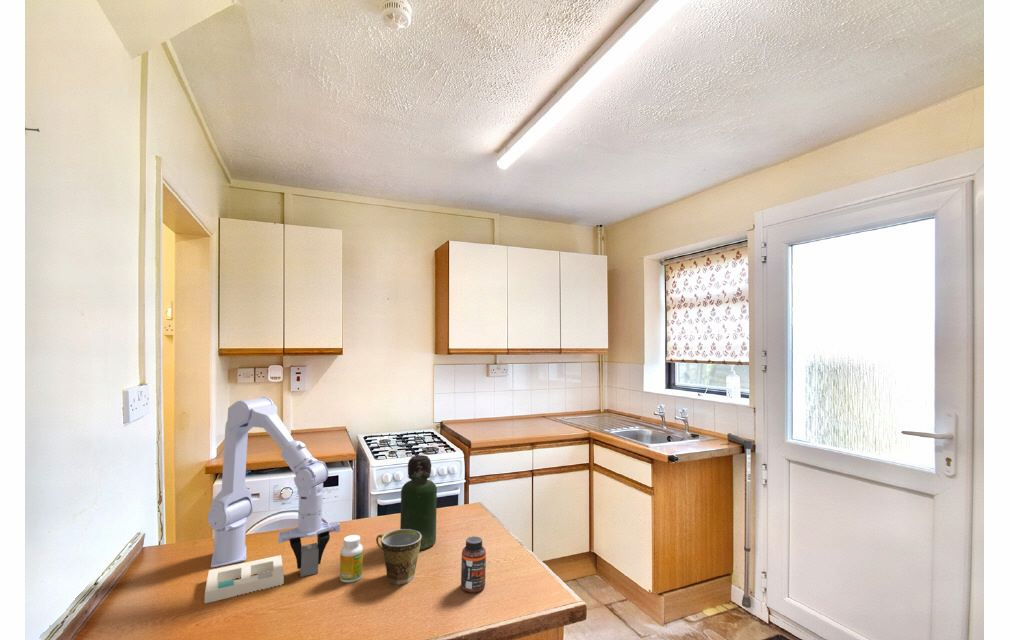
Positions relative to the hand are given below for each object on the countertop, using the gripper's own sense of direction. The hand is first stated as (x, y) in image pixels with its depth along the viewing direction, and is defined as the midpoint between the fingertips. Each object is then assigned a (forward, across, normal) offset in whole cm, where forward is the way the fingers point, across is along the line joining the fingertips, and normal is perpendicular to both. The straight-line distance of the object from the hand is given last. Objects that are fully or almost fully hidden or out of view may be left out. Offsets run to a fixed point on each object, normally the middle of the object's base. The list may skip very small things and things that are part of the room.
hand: (308, 564), depth 113 cm
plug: (+2, 0, 0) cm, 2 cm away
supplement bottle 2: (+2, +34, -27) cm, 43 cm away
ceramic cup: (+2, +19, -13) cm, 23 cm away
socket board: (+2, -14, +2) cm, 14 cm away
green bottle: (+2, +30, +2) cm, 30 cm away
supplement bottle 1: (+2, +9, -8) cm, 12 cm away
